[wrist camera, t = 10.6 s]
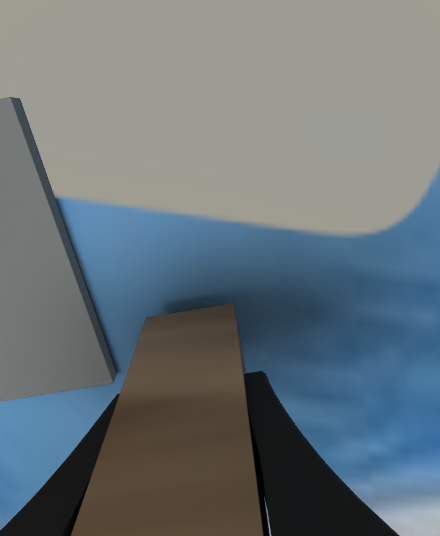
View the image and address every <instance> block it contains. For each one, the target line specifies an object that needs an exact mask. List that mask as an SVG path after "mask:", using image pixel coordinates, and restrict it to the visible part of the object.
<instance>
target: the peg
mask: <svg viewBox="0 0 440 536" xmlns="http://www.w3.org/2000/svg"><path fill="white" fill-rule="evenodd" d="M244 374H246V369H245V364H244V358H243V353H242V348H241V342H240V337H239V331H238V326H237V320H236V315H235V309H234V304H233V303H230V304H224V305H218V306H212V307H206V308H201V309H195V310H189V311H183V312H177V313H171V314H165V315H159V316H153V317H147V318H146V320H145V323H144V326H143V329H142V332H141V335H140V338H139V341H138V343H137V346H136V349H135V352H134V355H133V358H132V361H131V364H130V367H129V369H128V372H127V375H126V378H125V381H124V384H123V387H122V390H121V392H120V395H119V398H118V401H117V404H116V407H115V410H114V413H113V416H112V418H111V421H110V424H109V427H108V430H107V433H106V436H105V439H104V441H103V444H102V447H101V450H100V453H99V456H98V459H97V462H96V465H95V467H94V470H93V473H92V476H91V479H90V482H89V485H88V488H87V491H86V493H85V496H84V499H83V502H82V505H81V508H80V511H79V514H78V516H77V519H76V522H75V525H74V528H73V531H72V534H71V536H270V534H269V527H268V520H267V513H266V507H265V500H264V493H263V487H262V482H261V477H260V472H259V466H258V461H257V456H256V451H255V445H254V440H253V435H252V429H251V424H250V419H249V414H248V407H247V399H246V390H245V382H244Z"/></svg>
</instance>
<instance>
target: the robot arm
mask: <svg viewBox="0 0 440 536" xmlns="http://www.w3.org/2000/svg"><path fill="white" fill-rule="evenodd" d="M244 382H245V390H246V399H247V407H248V414H249V419H250V424H251V429H252V435H253V440H254V445H255V451H256V456H257V461H258V466H259V472H260V477H261V482H262V487H263V493H264V497H265V501H266V505H267V510H268V516H269V523H270V530H271V536H399V535H398V534H397V533H396V532H395V531H394V530H393V529H392V528H390V527H389V526H388V525H387V524H386V523H385V522H384V521H383V520H382V519H381V518H380V517H379V516H378V515H376V514H375V513H374V512H373V511H372V510H371V509H370V508H369V507H368V506H367V505H366V504H365V503H364V502H362V501H361V500H360V499H359V498H358V497H357V496H356V495H355V494H354V493H353V491H352V490H351V489H350V488H349V487H348V486H347V485H346V484H345V483H344V482H343V481H342V480H341V479H340V478H339V477H338V476H337V475H336V474H335V473H334V471H333V470H332V469H331V468H330V467H329V466H328V465H327V464H326V463H325V461H324V460H323V459H322V458H321V457H320V456H319V454H318V453H317V452H316V451H315V450H314V448H313V447H312V446H311V445H310V443H309V442H308V441H307V439H306V438H305V437H304V436H303V434H302V433H301V432H300V430H299V429H298V428H297V426H296V425H295V423H294V422H293V421H292V419H291V418H290V416H289V415H288V413H287V412H286V411H285V409H284V407H283V406H282V404H281V403H280V401H279V399H278V398H277V396H276V394H275V393H274V391H273V389H272V387H271V385H270V383H269V381H268V378H267V376H266V374H265V373H264V372H262V371H259V372H252V373H246V374H244ZM119 395H120V394H117V395H116V397H115V398H114V399H113V400H112V402H111V403H110V404H109V406H108V407H107V408H106V410H105V411H104V412H103V413H102V415H101V416H100V417H99V419H98V420H97V421H96V423H95V424H94V425H93V426H92V428H91V429H90V430H89V432H88V433H87V434H86V435H85V437H84V438H83V439H82V440H81V442H80V443H79V444H78V446H77V447H76V448H75V449H74V451H73V452H72V453H71V454H70V455H69V457H68V458H67V459H66V460H65V461H64V462H63V464H62V465H61V466H60V467H59V468H58V469H57V471H56V472H55V473H54V474H53V475H52V476H51V478H50V479H49V480H48V481H47V482H46V483H45V485H44V486H43V487H42V488H41V489H40V490H39V491H38V492H37V493H36V495H35V496H34V497H33V498H32V499H31V500H30V501H29V502H28V503H27V504H26V505H25V506H24V507H23V508H22V509H21V510H20V511H19V512H18V513H17V514H16V515H15V516H14V517H13V518H12V519H11V520H10V521H9V523H8V524H7V525H6V526H5V527H4V528H2V529H1V530H0V536H71V534H72V531H73V528H74V525H75V522H76V519H77V516H78V514H79V511H80V508H81V505H82V502H83V499H84V496H85V493H86V491H87V488H88V485H89V482H90V479H91V476H92V473H93V470H94V467H95V465H96V462H97V459H98V456H99V453H100V450H101V447H102V444H103V441H104V439H105V436H106V433H107V430H108V427H109V424H110V421H111V418H112V416H113V413H114V410H115V407H116V404H117V401H118V398H119Z"/></svg>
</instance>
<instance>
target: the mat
mask: <svg viewBox="0 0 440 536" xmlns="http://www.w3.org/2000/svg"><path fill="white" fill-rule="evenodd" d="M116 375H117V373H116V370H115V367H114V365H113V362H112V359H111V356H110V353H109V350H108V348H107V345H106V342H105V339H104V336H103V333H102V330H101V328H100V325H99V322H98V319H97V316H96V313H95V311H94V308H93V305H92V302H91V299H90V296H89V293H88V291H87V288H86V285H85V282H84V279H83V276H82V274H81V271H80V268H79V265H78V262H77V259H76V256H75V254H74V251H73V248H72V245H71V242H70V239H69V237H68V234H67V231H66V228H65V225H64V222H63V220H62V217H61V214H60V211H59V208H58V205H57V202H56V200H55V197H54V194H53V191H52V188H51V185H50V183H49V180H48V177H47V174H46V171H45V168H44V165H43V163H42V160H41V157H40V154H39V151H38V148H37V146H36V143H35V140H34V137H33V134H32V131H31V128H30V126H29V123H28V120H27V117H26V114H25V111H24V109H23V106H22V103H21V100H20V98H13V97H8V98H3V99H0V402H1V401H7V400H13V399H20V398H26V397H32V396H38V395H44V394H51V393H57V392H63V391H69V390H75V389H82V388H88V387H94V386H100V385H106V384H113V383H114V380H115V378H116Z"/></svg>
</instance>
